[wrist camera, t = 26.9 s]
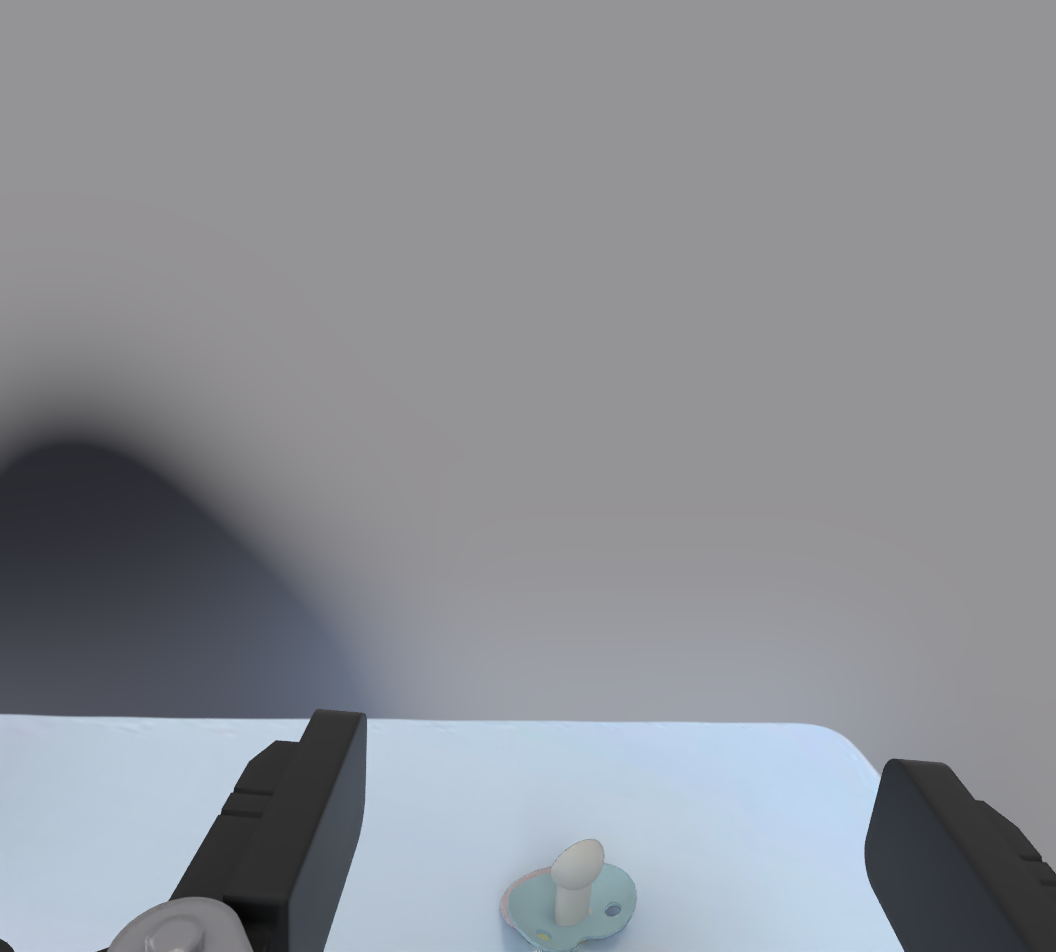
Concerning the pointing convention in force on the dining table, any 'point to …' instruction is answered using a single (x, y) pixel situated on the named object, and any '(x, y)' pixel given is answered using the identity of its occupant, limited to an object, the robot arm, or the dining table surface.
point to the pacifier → (570, 900)
